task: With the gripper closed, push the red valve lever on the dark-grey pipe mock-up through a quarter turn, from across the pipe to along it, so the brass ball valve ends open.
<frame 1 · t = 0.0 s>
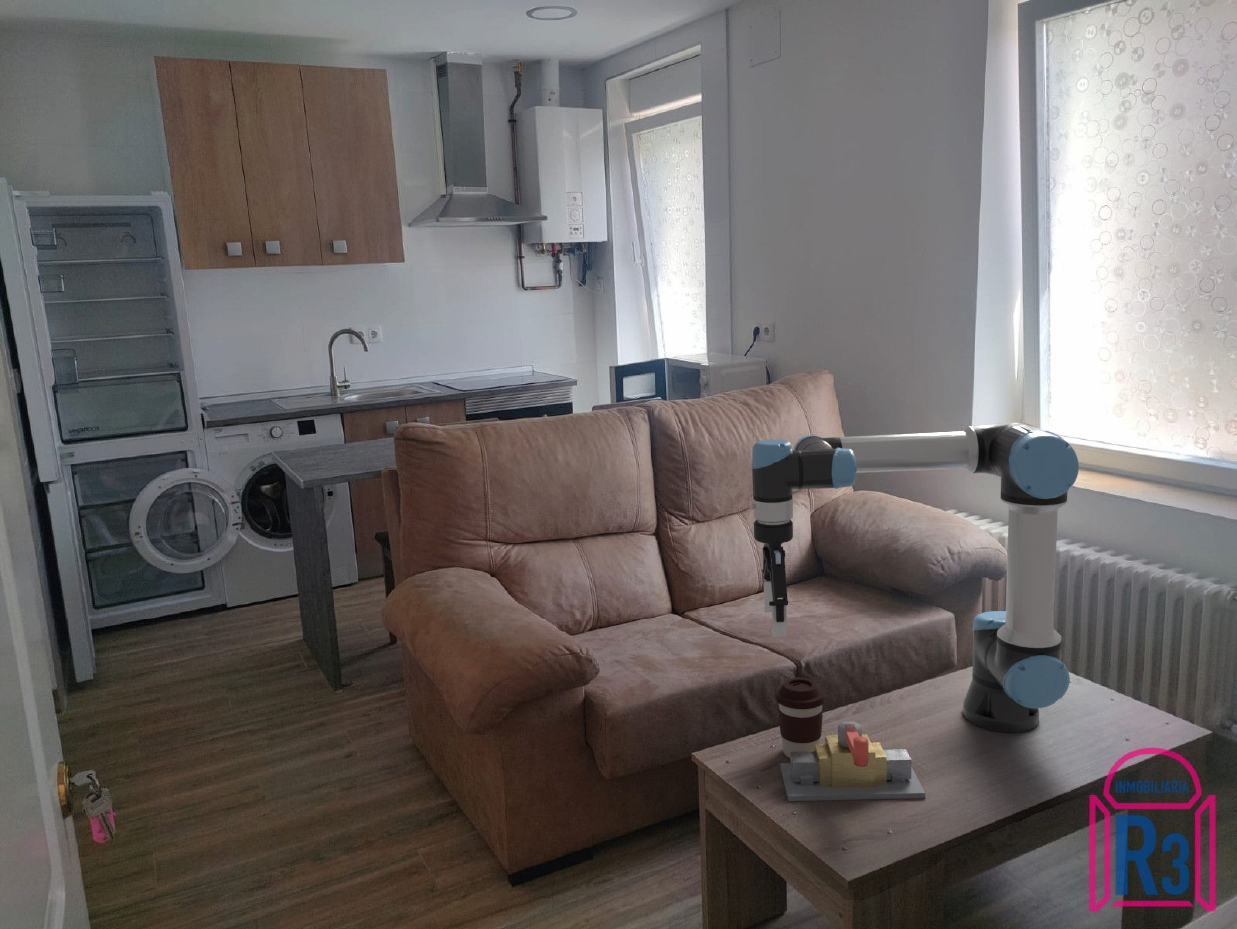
hand: (775, 623, 183), 28 cm above the table, fingers open, 13 cm apart
coffee cup: (801, 754, 188), on the table
mount board: (850, 782, 177), on the table
lever: (854, 740, 170), point 11 cm above the table, hinge at 0.0°
pipe valve: (849, 760, 176), on the mount board, point 4 cm above the table
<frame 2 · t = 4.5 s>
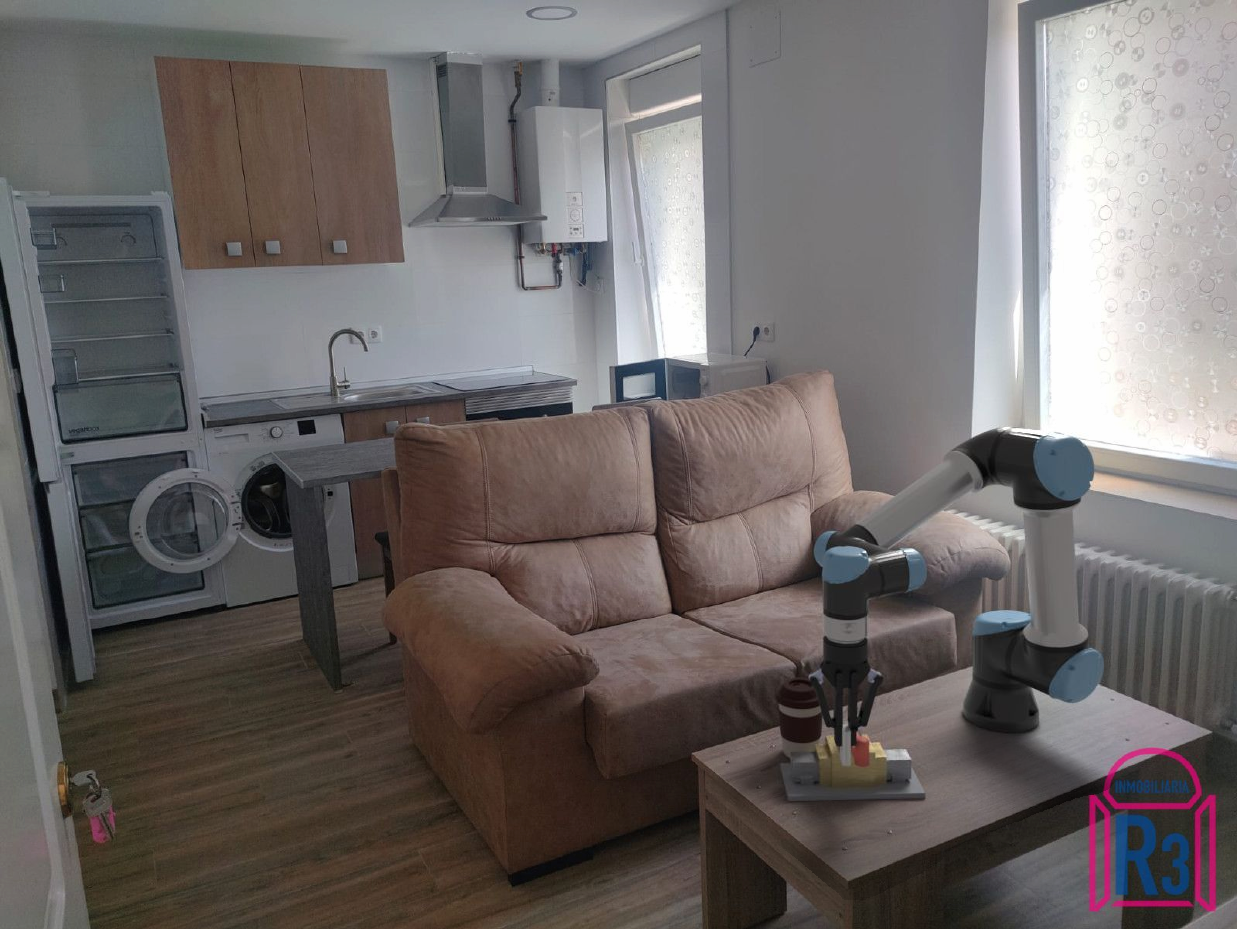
hand: (845, 761, 164), 10 cm above the table, fingers closed
lever: (855, 740, 170), point 11 cm above the table, hinge at 0.8°, touching gripper
everything else where it was.
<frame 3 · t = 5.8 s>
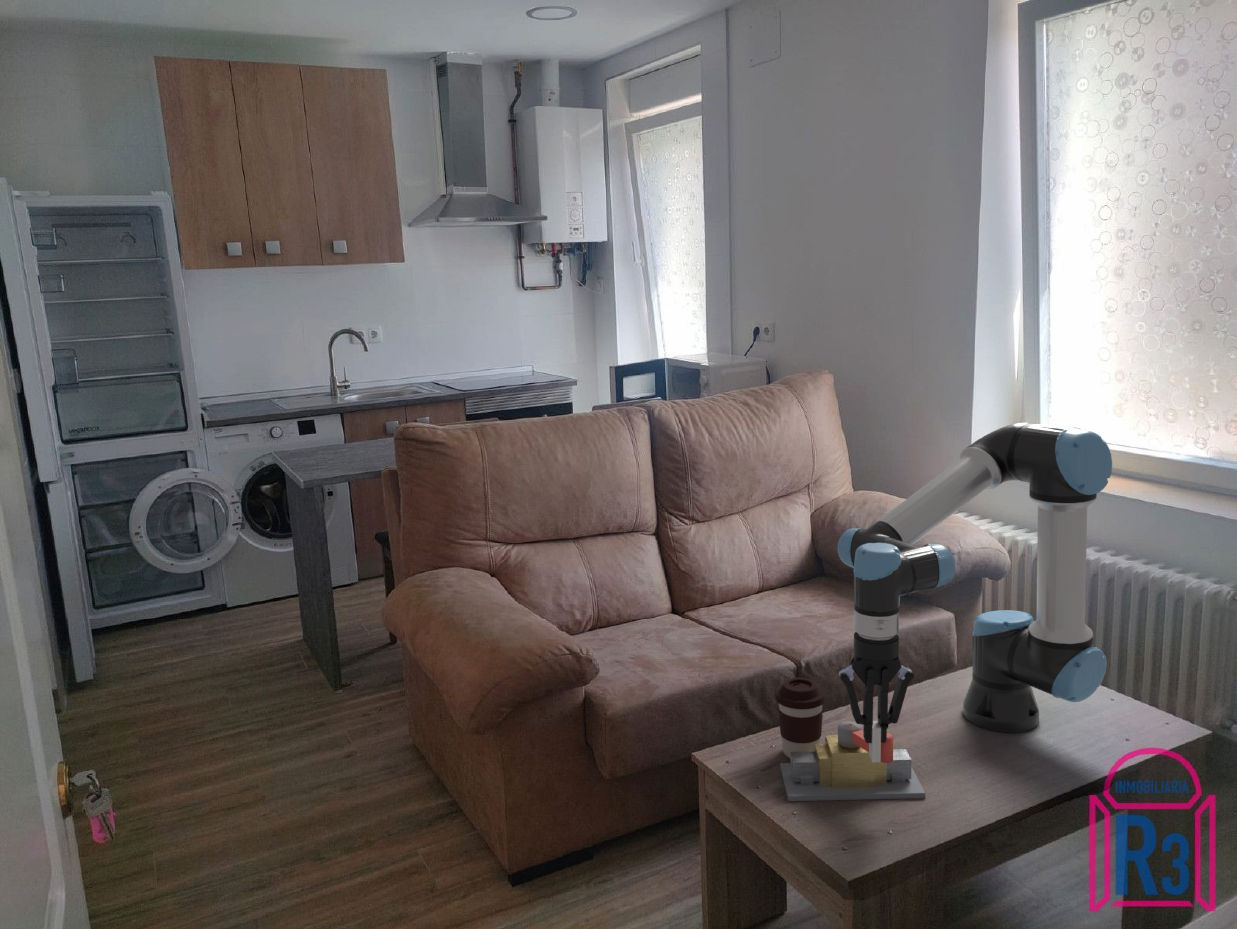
hand: (874, 758, 164), 11 cm above the table, fingers closed
lever: (865, 738, 170), point 11 cm above the table, hinge at 27.4°, touching gripper
everything else where it was.
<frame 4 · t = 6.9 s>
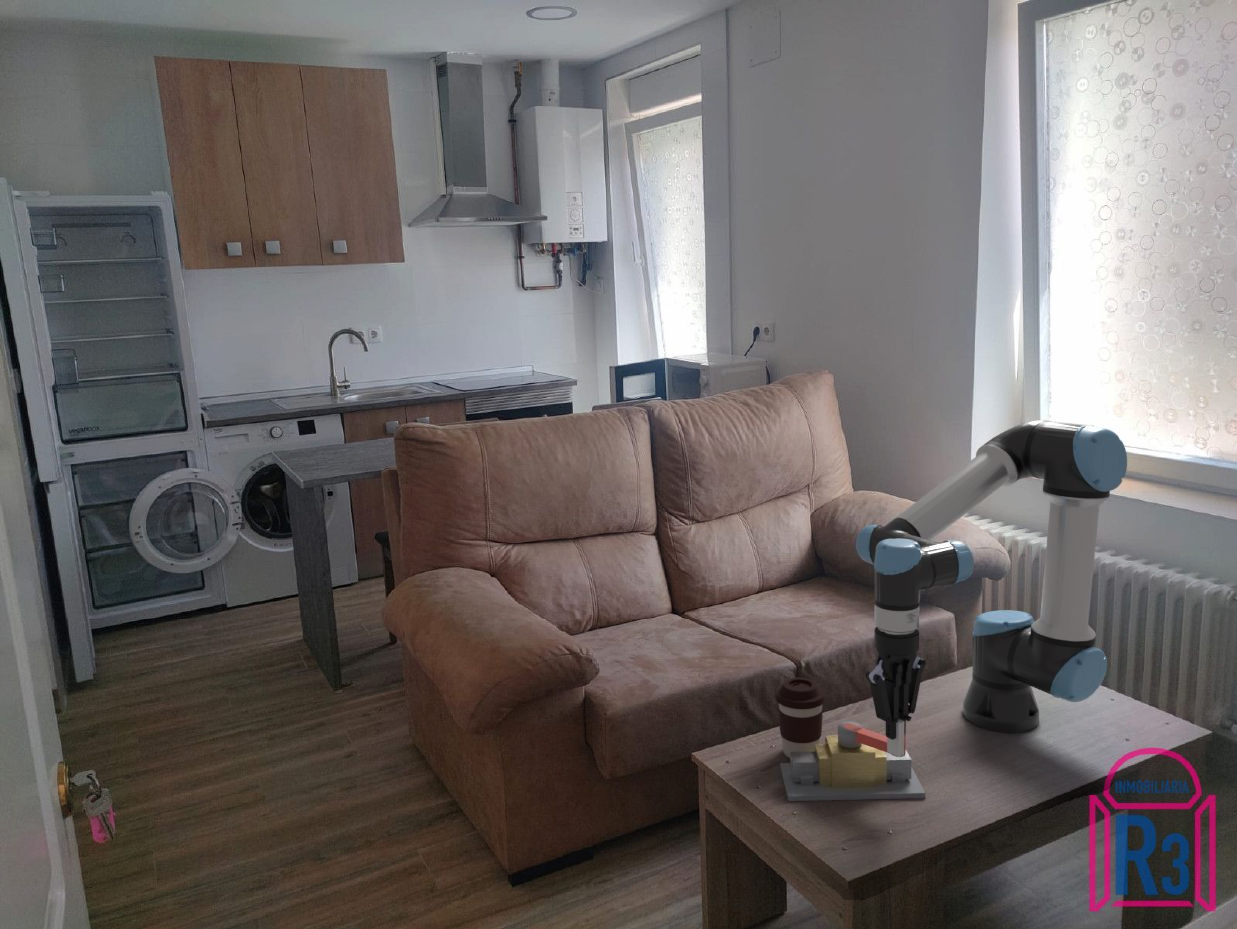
hand: (895, 753, 165), 11 cm above the table, fingers closed
lever: (871, 735, 171), point 11 cm above the table, hinge at 47.0°, touching gripper
everything else where it was.
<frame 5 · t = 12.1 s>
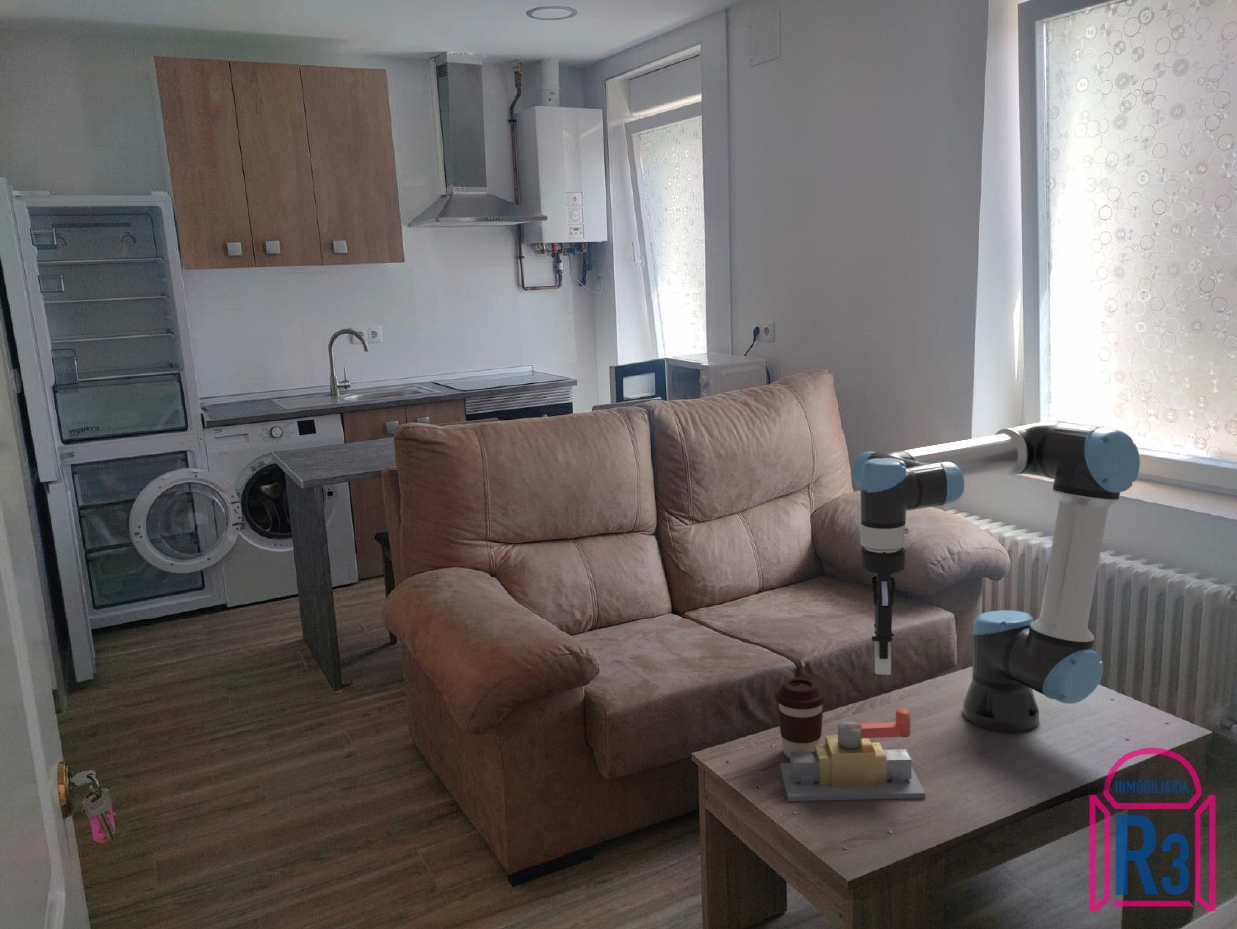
hand: (882, 672, 167), 24 cm above the table, fingers closed
lever: (873, 727, 174), point 11 cm above the table, hinge at 91.9°
everything else where it was.
at the end: lever at +92° (first picture: +0°); lever touching nothing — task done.
